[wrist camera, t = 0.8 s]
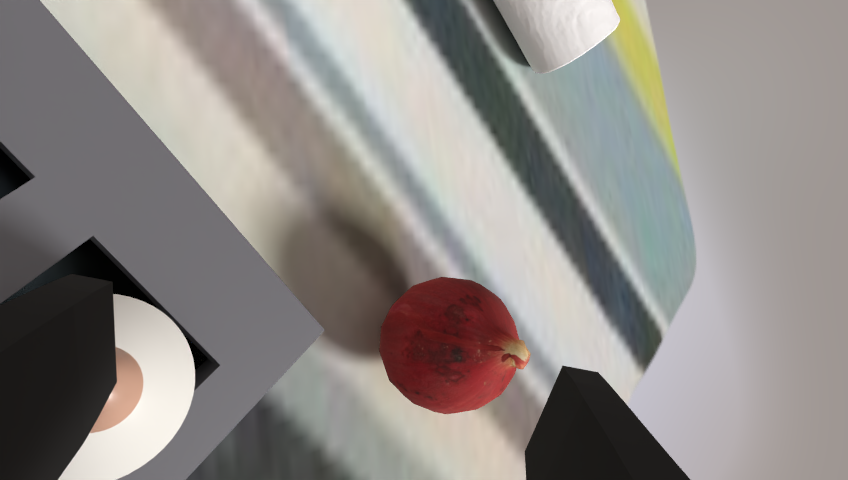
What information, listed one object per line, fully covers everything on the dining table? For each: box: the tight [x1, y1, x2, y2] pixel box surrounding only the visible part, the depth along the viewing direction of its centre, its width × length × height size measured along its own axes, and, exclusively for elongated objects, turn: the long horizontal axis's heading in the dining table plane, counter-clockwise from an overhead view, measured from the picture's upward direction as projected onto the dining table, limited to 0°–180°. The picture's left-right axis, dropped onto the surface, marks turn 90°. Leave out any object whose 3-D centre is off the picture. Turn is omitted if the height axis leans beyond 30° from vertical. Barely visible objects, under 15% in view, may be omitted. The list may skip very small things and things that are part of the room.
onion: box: [379, 277, 530, 414], centre depth 24 cm, size 6×6×8 cm
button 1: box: [58, 294, 195, 480], centre depth 14 cm, size 4×4×3 cm
